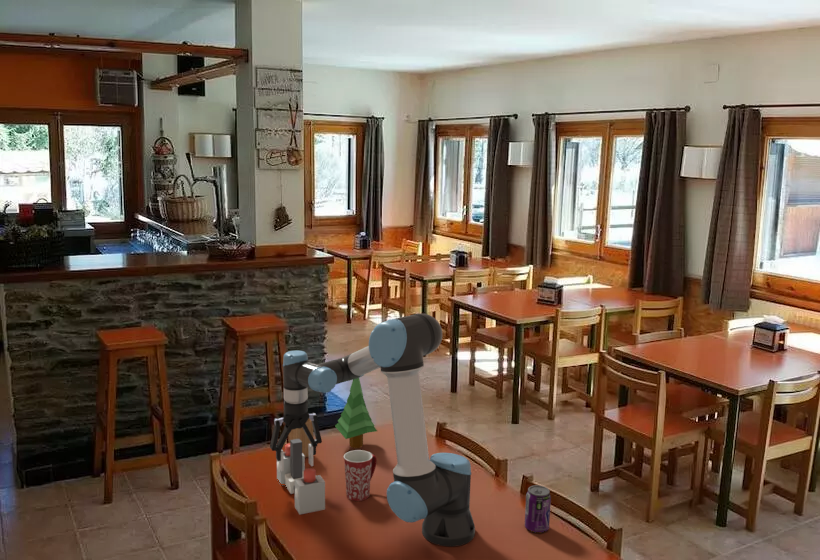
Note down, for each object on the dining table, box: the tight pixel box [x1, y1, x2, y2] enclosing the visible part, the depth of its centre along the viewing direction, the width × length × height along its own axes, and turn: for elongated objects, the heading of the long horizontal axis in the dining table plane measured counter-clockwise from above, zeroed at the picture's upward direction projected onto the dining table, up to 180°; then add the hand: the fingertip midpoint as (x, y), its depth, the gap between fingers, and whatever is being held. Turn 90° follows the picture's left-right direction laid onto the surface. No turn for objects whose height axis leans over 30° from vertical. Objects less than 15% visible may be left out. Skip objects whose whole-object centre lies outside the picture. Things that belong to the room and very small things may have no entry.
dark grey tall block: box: [284, 439, 304, 495], centre depth 234 cm, size 6×6×16 cm
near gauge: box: [304, 467, 317, 483], centre depth 221 cm, size 4×4×3 cm
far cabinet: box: [276, 451, 306, 484], centre depth 241 cm, size 5×8×9 cm, turn 115°
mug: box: [343, 449, 378, 502], centre depth 232 cm, size 13×9×14 cm
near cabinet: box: [294, 474, 326, 515], centre depth 222 cm, size 5×8×9 cm, turn 115°
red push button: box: [284, 442, 290, 456], centre depth 239 cm, size 4×4×3 cm
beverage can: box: [524, 485, 552, 533], centre depth 213 cm, size 7×7×12 cm
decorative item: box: [288, 418, 314, 459], centre depth 259 cm, size 7×7×20 cm
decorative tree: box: [334, 378, 378, 449], centre depth 267 cm, size 14×16×30 cm
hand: (296, 466), depth 234 cm, fingers open, 9 cm apart
